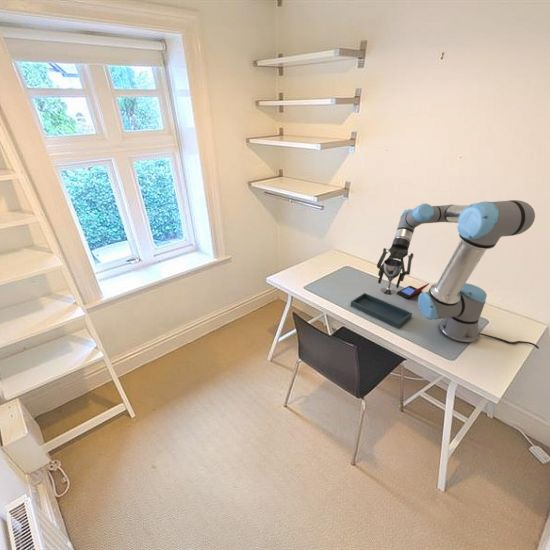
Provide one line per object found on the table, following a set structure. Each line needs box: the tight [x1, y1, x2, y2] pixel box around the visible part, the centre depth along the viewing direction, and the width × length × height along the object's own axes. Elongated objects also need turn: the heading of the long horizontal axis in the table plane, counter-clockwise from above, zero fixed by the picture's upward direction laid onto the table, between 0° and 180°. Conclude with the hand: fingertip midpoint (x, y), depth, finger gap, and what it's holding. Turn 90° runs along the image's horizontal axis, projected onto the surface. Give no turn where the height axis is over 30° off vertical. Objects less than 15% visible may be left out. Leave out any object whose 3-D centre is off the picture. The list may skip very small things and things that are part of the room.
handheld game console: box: [396, 283, 430, 300], centre depth 169 cm, size 12×11×7 cm
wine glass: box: [380, 258, 402, 296], centre depth 145 cm, size 8×8×15 cm
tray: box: [350, 292, 413, 329], centre depth 156 cm, size 27×12×3 cm, turn 42°
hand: (388, 284), depth 144 cm, fingers closed on wine glass, 7 cm apart
